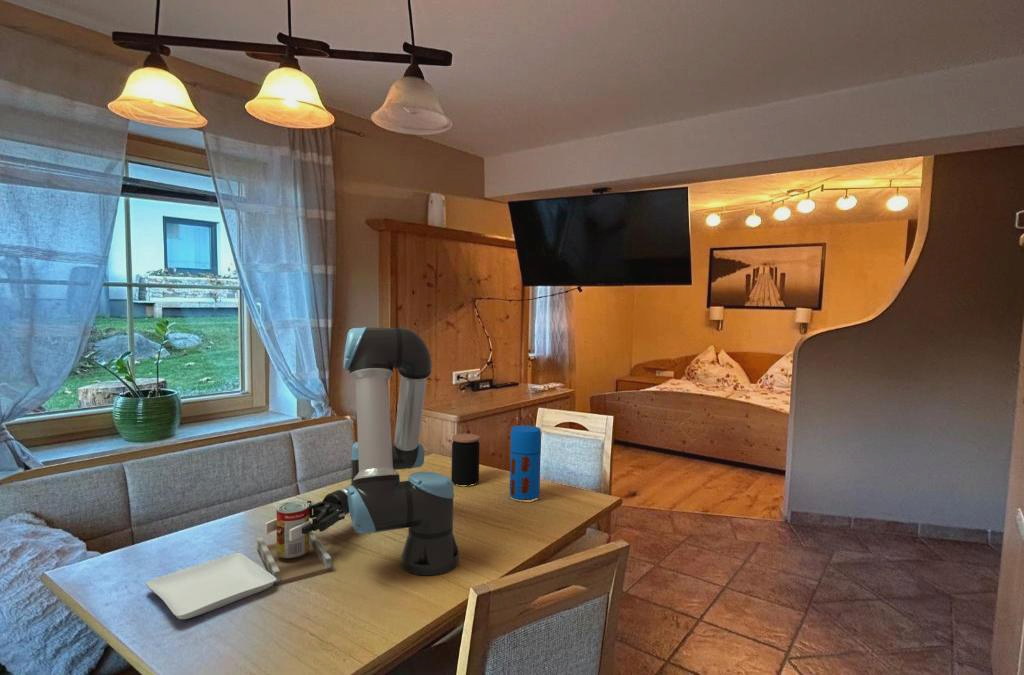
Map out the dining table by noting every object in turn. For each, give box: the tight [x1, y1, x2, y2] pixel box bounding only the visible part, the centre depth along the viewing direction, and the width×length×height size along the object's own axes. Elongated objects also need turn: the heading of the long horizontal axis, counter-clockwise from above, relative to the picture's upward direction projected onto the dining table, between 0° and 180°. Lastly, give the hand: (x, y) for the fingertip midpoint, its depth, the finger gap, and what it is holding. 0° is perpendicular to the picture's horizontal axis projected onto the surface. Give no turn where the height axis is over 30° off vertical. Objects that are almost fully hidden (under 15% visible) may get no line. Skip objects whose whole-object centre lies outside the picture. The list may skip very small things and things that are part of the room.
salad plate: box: [145, 552, 277, 620], centre depth 122 cm, size 21×21×3 cm
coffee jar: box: [450, 433, 481, 485], centre depth 203 cm, size 11×11×18 cm
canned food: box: [276, 500, 310, 558], centre depth 138 cm, size 8×8×12 cm
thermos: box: [509, 425, 542, 500], centre depth 188 cm, size 11×11×25 cm
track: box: [256, 531, 332, 587], centre depth 138 cm, size 22×13×4 cm, turn 35°
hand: (278, 531), depth 133 cm, fingers closed on canned food, 8 cm apart
